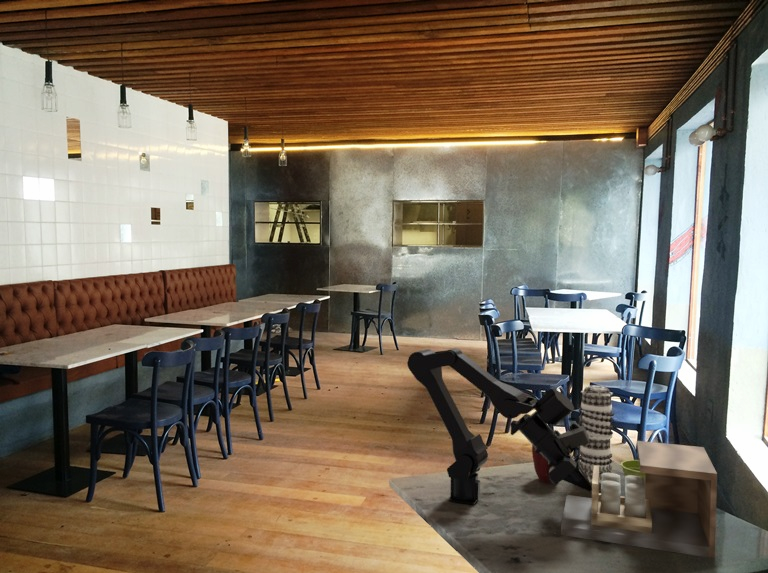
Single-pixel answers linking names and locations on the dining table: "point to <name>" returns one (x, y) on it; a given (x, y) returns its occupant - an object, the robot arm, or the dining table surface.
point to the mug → (541, 466)
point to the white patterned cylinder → (596, 430)
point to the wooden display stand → (662, 503)
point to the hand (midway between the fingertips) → (591, 490)
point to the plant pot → (632, 468)
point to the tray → (620, 503)
